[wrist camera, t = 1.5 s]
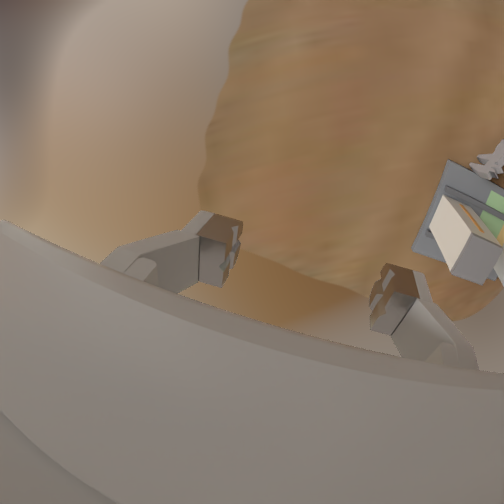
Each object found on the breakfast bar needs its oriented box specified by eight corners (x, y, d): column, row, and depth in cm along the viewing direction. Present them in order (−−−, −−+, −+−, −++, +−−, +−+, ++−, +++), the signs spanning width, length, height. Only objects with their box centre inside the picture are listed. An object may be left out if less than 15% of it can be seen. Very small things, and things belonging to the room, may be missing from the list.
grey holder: (447, 159, 28) (476, 182, 21) (530, 206, 25) (559, 235, 18) (411, 247, 36) (424, 287, 29) (492, 277, 34) (511, 314, 26)
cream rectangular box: (443, 193, 29) (473, 234, 21) (470, 206, 29) (504, 248, 20) (428, 226, 32) (451, 274, 24) (456, 237, 32) (482, 285, 23)
